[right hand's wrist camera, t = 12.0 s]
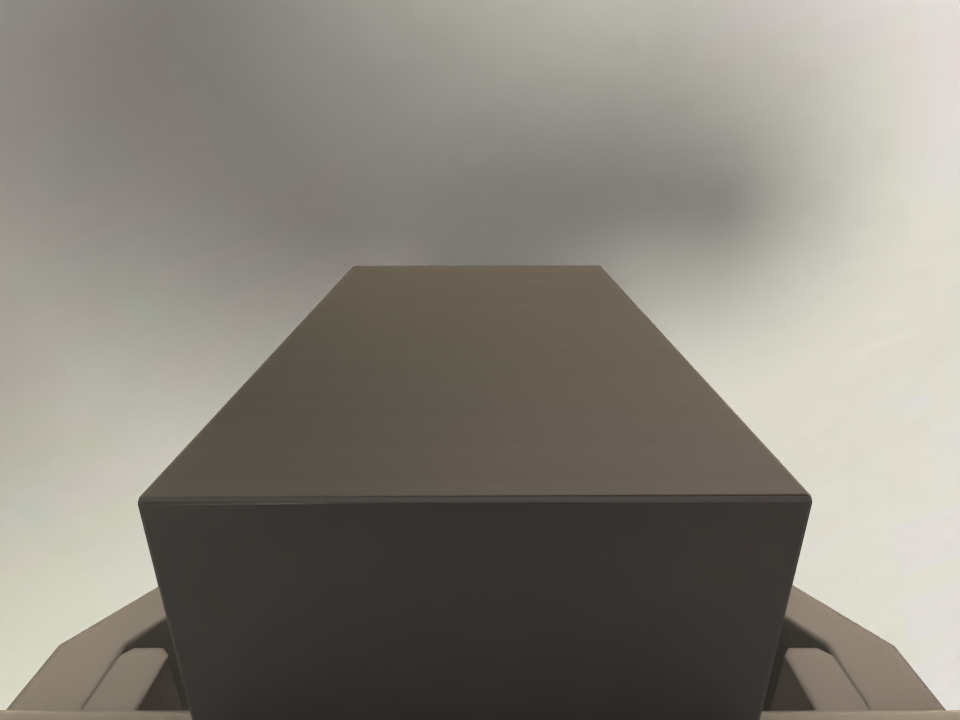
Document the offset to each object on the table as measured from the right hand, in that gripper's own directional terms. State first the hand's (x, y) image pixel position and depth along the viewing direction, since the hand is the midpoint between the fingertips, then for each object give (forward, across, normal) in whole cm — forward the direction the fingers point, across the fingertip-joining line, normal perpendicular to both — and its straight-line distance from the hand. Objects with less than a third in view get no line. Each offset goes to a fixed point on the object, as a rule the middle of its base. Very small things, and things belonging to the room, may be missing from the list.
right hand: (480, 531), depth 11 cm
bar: (+3, 0, -8) cm, 8 cm away
